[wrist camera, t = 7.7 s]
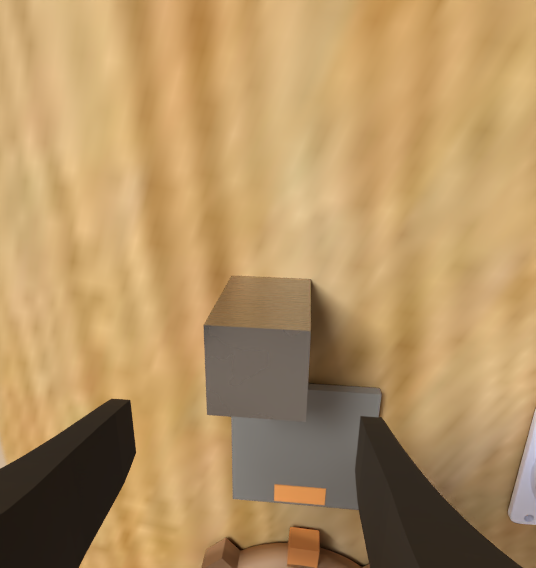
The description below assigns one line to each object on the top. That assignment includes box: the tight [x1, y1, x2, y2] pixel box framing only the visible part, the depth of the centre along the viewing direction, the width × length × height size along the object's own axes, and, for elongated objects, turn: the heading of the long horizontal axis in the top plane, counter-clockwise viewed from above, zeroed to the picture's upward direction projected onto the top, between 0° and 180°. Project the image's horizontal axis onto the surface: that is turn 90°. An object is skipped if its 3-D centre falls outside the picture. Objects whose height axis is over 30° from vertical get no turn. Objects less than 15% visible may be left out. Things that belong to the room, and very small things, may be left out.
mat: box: [232, 384, 381, 510], centre depth 24 cm, size 8×8×1 cm
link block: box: [204, 276, 311, 422], centre depth 19 cm, size 4×4×6 cm
